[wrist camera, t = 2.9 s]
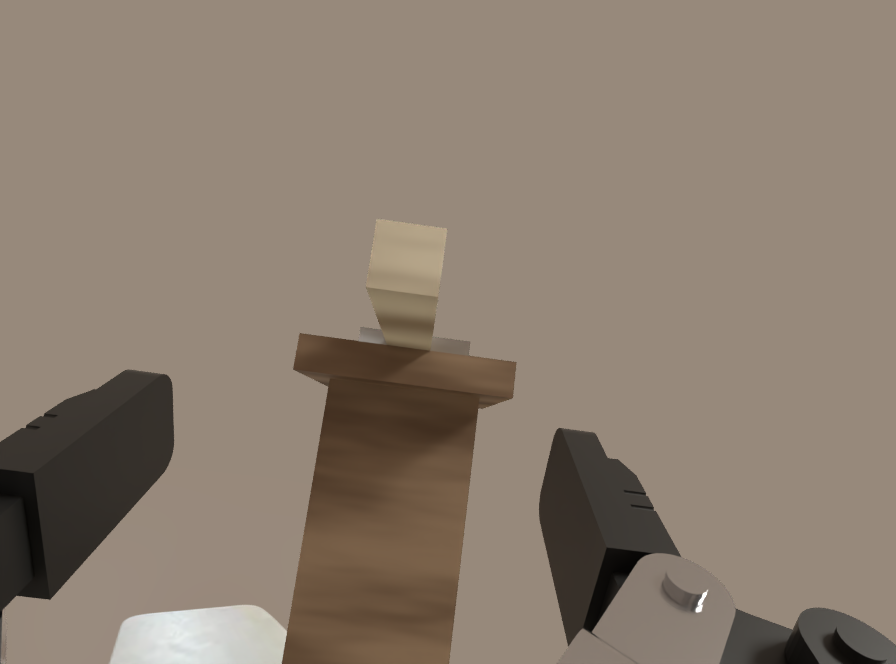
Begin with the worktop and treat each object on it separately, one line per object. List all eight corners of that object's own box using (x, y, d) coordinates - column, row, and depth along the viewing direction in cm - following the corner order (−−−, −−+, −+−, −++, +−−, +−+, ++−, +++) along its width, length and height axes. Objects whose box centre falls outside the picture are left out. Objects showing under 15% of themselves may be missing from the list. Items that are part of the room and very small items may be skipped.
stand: (261, 820, 37) (337, 364, 43) (433, 838, 37) (485, 384, 43) (168, 1052, 23) (299, 333, 29) (442, 1076, 24) (516, 362, 30)
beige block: (359, 364, 41) (364, 334, 41) (462, 378, 41) (466, 347, 42) (280, 275, 17) (293, 207, 18) (522, 308, 18) (529, 240, 18)
